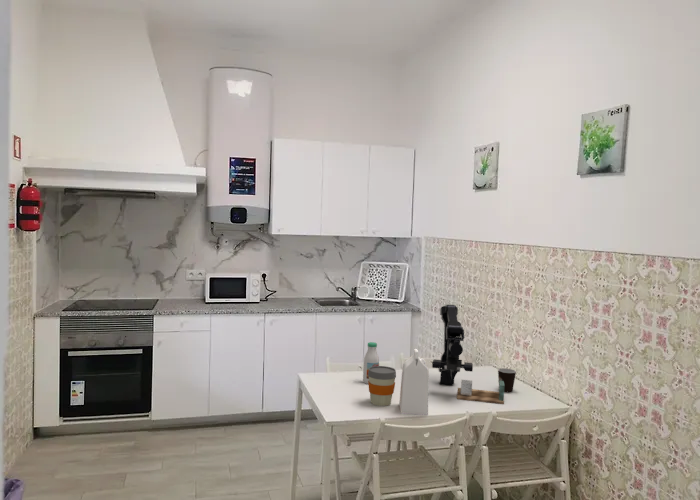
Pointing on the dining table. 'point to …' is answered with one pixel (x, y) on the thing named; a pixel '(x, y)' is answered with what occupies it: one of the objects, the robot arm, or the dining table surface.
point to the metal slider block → (466, 387)
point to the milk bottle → (370, 360)
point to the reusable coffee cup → (381, 384)
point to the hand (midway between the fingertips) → (451, 383)
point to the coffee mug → (507, 378)
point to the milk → (414, 386)
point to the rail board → (480, 399)
